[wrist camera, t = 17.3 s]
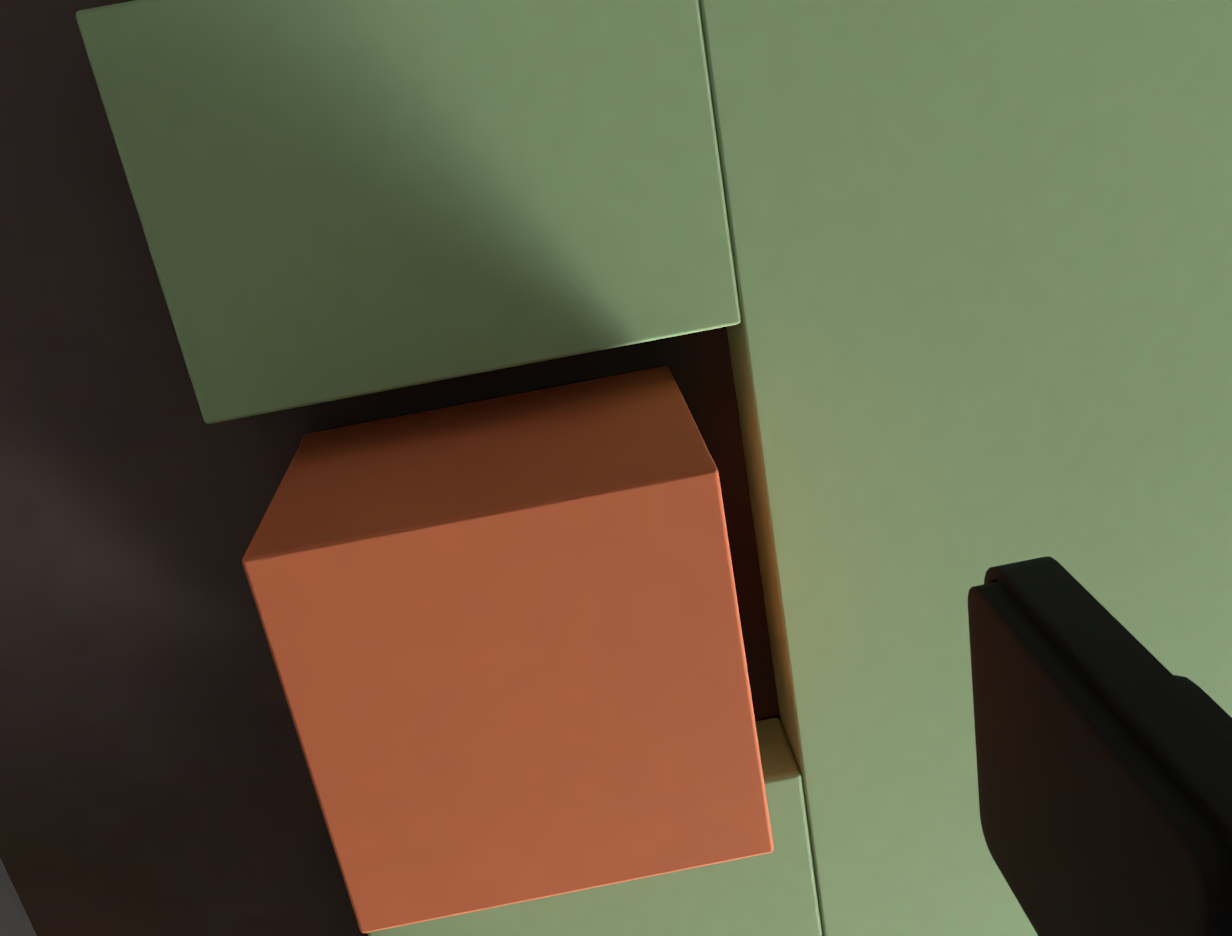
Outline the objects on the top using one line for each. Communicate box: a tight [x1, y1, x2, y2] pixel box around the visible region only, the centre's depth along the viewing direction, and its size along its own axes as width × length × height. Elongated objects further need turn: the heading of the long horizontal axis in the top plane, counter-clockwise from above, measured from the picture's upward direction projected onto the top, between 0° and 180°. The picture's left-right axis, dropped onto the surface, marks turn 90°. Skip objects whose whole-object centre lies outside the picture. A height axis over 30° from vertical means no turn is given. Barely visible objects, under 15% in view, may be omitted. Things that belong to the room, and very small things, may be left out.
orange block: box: [242, 366, 774, 933], centre depth 15 cm, size 5×5×4 cm
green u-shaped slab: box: [76, 0, 1232, 936], centre depth 16 cm, size 16×14×2 cm
